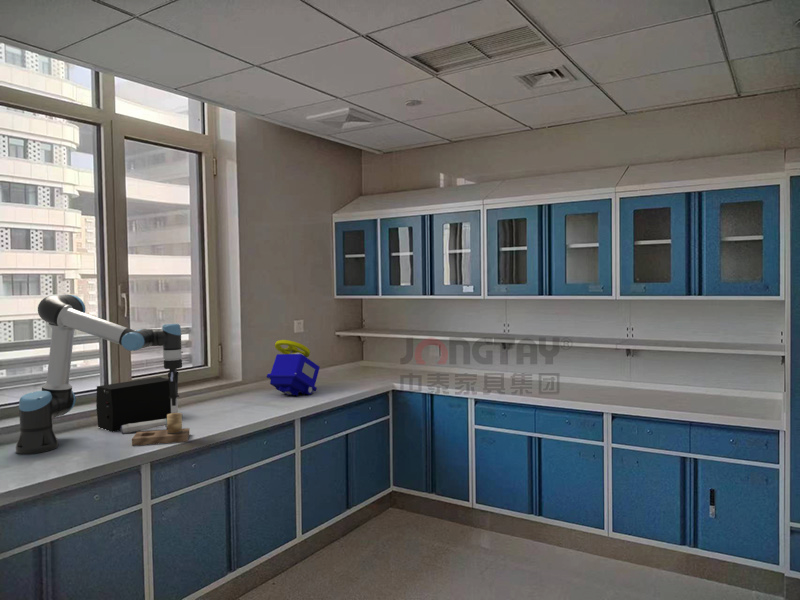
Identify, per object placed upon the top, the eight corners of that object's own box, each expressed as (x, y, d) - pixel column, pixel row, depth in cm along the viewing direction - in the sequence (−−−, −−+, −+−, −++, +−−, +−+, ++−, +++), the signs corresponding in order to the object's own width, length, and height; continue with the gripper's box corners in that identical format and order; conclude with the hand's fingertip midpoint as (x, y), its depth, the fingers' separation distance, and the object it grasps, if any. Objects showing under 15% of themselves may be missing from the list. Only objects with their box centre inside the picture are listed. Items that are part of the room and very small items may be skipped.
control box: (287, 386, 338) (302, 338, 351) (253, 385, 351) (268, 340, 365) (313, 402, 357) (326, 356, 370) (279, 401, 370) (293, 357, 384)
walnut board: (132, 445, 251) (131, 438, 251) (137, 438, 262) (137, 431, 262) (186, 441, 256) (186, 434, 256) (189, 434, 268) (189, 428, 268)
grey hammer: (121, 423, 275) (178, 412, 281) (124, 437, 275) (180, 426, 282) (119, 426, 270) (177, 415, 276) (122, 440, 270) (179, 428, 277)
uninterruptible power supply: (176, 418, 300) (175, 379, 299) (109, 433, 273) (108, 390, 272) (159, 414, 310) (158, 376, 309) (93, 428, 283) (92, 386, 283)
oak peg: (166, 441, 257) (165, 416, 256) (168, 437, 263) (167, 413, 262) (181, 440, 258) (181, 415, 258) (183, 436, 264) (182, 412, 264)
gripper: (180, 360, 254) (181, 415, 255) (183, 356, 267) (185, 408, 268) (161, 361, 252) (163, 416, 253) (165, 357, 265) (167, 410, 266)
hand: (174, 412), depth 260 cm, fingers closed
